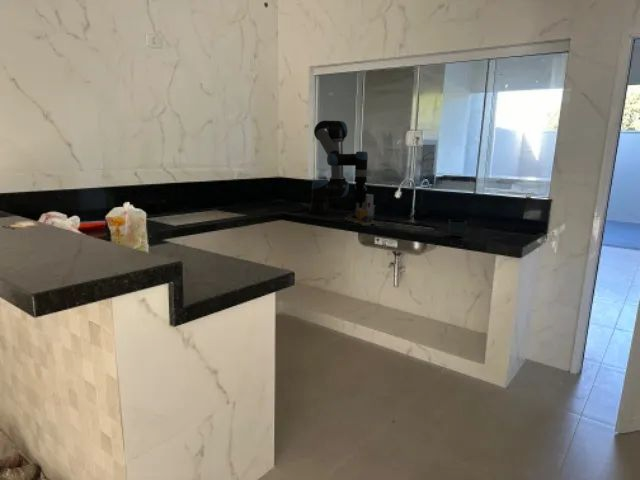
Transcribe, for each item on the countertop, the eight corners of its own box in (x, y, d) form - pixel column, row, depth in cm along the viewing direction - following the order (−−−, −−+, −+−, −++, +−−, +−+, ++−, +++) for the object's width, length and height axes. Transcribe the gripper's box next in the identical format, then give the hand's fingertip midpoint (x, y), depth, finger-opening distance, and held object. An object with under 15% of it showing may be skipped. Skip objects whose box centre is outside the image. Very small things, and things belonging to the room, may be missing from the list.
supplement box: (366, 217, 309) (367, 195, 305) (355, 215, 314) (356, 194, 310) (373, 215, 316) (374, 194, 312) (362, 214, 321) (363, 193, 317)
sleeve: (356, 219, 291) (356, 210, 289) (363, 218, 294) (364, 209, 292) (359, 220, 288) (360, 211, 286) (367, 219, 291) (367, 210, 289)
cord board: (344, 220, 297) (344, 212, 296) (359, 218, 303) (359, 211, 302) (363, 225, 280) (363, 217, 279) (378, 224, 286) (378, 216, 285)
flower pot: (446, 234, 261) (448, 219, 259) (462, 235, 260) (464, 219, 258) (449, 237, 252) (450, 222, 250) (465, 238, 251) (467, 222, 249)
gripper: (350, 175, 290) (348, 211, 296) (362, 177, 279) (360, 214, 285) (359, 175, 294) (357, 210, 300) (371, 176, 283) (370, 213, 289)
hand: (359, 212), depth 292 cm, fingers closed
